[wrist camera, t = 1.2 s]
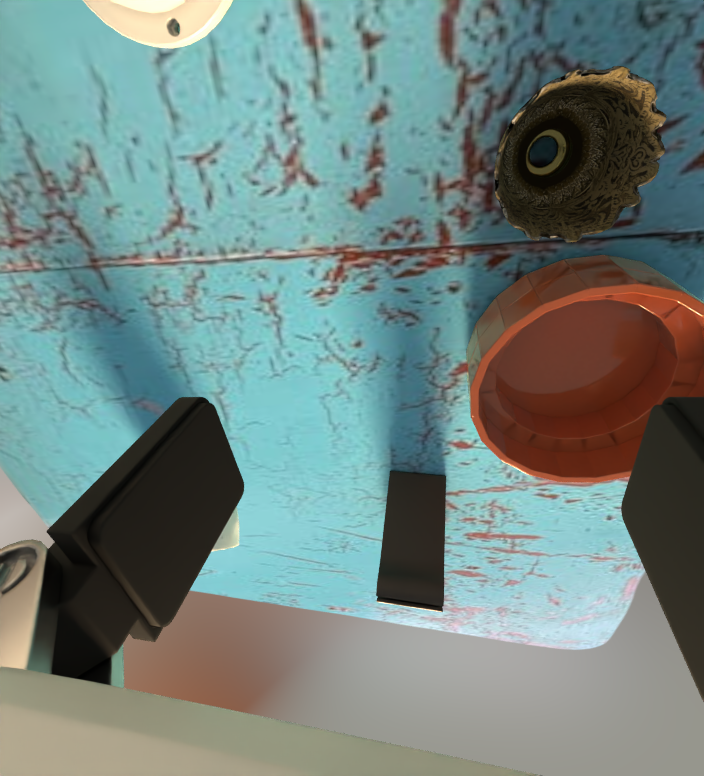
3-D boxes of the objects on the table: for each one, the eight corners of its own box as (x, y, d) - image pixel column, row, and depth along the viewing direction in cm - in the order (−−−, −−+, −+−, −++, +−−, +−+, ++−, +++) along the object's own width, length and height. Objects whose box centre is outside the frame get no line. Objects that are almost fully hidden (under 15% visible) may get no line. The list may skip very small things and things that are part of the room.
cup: (630, 81, 23) (703, 67, 17) (583, 217, 27) (628, 248, 21) (497, 77, 24) (517, 63, 18) (472, 209, 28) (480, 237, 22)
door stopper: (440, 528, 48) (439, 634, 38) (390, 522, 49) (376, 623, 39) (446, 474, 43) (447, 580, 33) (390, 469, 44) (375, 570, 34)
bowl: (463, 267, 31) (468, 299, 25) (716, 238, 26) (785, 268, 21) (468, 431, 39) (472, 481, 34) (660, 428, 35) (699, 484, 30)
